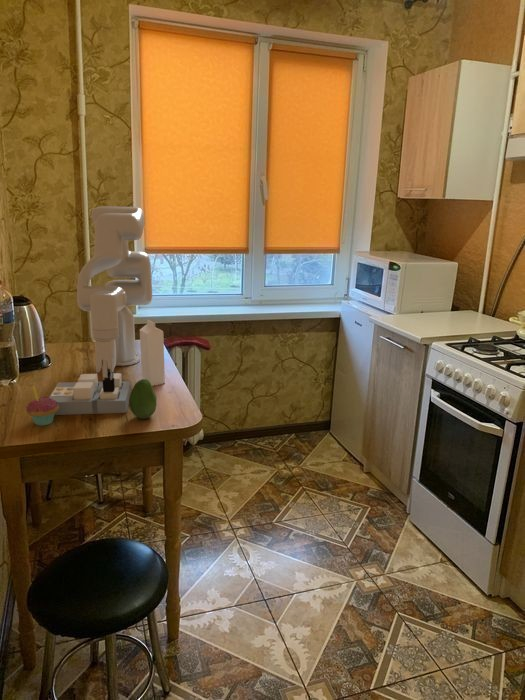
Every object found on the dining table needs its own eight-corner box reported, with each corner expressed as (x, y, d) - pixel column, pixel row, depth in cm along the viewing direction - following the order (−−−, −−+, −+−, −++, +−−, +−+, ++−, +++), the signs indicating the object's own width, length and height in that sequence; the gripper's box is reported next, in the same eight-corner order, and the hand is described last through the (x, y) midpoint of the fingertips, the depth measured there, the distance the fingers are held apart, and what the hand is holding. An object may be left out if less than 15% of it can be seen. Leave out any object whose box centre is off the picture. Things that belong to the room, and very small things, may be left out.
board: (59, 394, 173) (58, 381, 172) (131, 392, 176) (131, 379, 175) (46, 415, 158) (45, 401, 156) (126, 412, 161) (125, 399, 159)
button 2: (77, 397, 164) (76, 382, 163) (94, 397, 165) (93, 382, 164) (74, 403, 160) (73, 388, 158) (91, 403, 160) (90, 388, 159)
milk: (149, 387, 181) (146, 324, 175) (141, 381, 186) (138, 320, 179) (165, 383, 185) (163, 322, 178) (157, 378, 189) (155, 318, 183)
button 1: (82, 388, 172) (81, 374, 170) (98, 388, 172) (97, 373, 171) (79, 394, 167) (78, 379, 165) (95, 394, 168) (94, 379, 166)
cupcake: (28, 430, 148) (23, 390, 144) (27, 418, 155) (23, 379, 152) (61, 425, 151) (57, 386, 148) (59, 414, 159) (55, 376, 155)
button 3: (103, 402, 166) (102, 387, 165) (119, 402, 167) (118, 387, 165) (100, 409, 161) (99, 394, 160) (117, 408, 162) (116, 393, 160)
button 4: (106, 388, 173) (105, 373, 171) (122, 387, 173) (121, 373, 172) (103, 393, 168) (102, 379, 166) (120, 393, 168) (119, 378, 167)
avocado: (159, 412, 162) (158, 375, 158) (154, 423, 154) (152, 384, 150) (133, 411, 162) (131, 374, 158) (126, 422, 154) (124, 384, 150)
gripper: (96, 326, 164) (100, 382, 169) (87, 340, 149) (92, 400, 155) (121, 326, 164) (124, 382, 170) (115, 340, 150) (118, 400, 156)
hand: (109, 390), depth 162 cm, fingers closed
